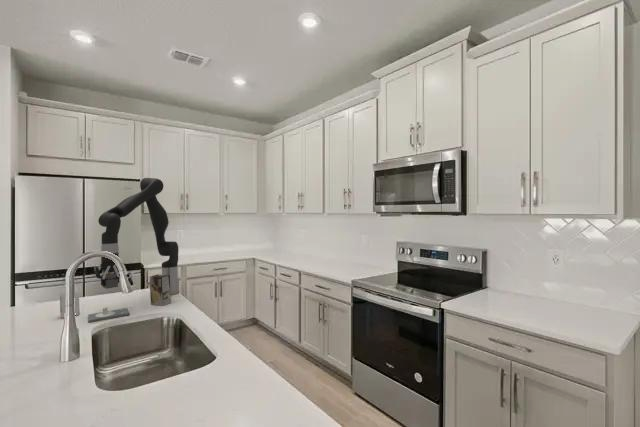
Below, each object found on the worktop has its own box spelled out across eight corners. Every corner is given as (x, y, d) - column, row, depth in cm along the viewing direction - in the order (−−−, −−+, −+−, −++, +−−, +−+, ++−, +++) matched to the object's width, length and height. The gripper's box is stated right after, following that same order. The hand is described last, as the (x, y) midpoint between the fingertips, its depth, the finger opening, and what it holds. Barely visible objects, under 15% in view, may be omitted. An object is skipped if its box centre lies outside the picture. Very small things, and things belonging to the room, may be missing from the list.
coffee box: (171, 302, 184) (170, 274, 183) (163, 305, 178) (162, 277, 177) (158, 301, 186) (157, 274, 186) (149, 304, 180) (148, 276, 180)
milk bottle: (83, 313, 167) (82, 275, 167) (70, 318, 159) (69, 278, 159) (70, 313, 168) (68, 275, 167) (56, 318, 160) (55, 278, 160)
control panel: (127, 310, 172) (127, 301, 171) (129, 315, 163) (129, 306, 163) (88, 316, 162) (88, 308, 161) (88, 323, 153) (88, 314, 153)
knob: (118, 286, 164) (117, 272, 164) (106, 288, 160) (106, 273, 160) (113, 285, 167) (113, 271, 167) (102, 287, 163) (102, 272, 163)
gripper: (96, 254, 155) (96, 289, 155) (128, 251, 167) (128, 283, 167) (90, 253, 160) (91, 287, 160) (122, 250, 171) (122, 282, 171)
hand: (110, 285), depth 163 cm, fingers closed on knob, 5 cm apart
